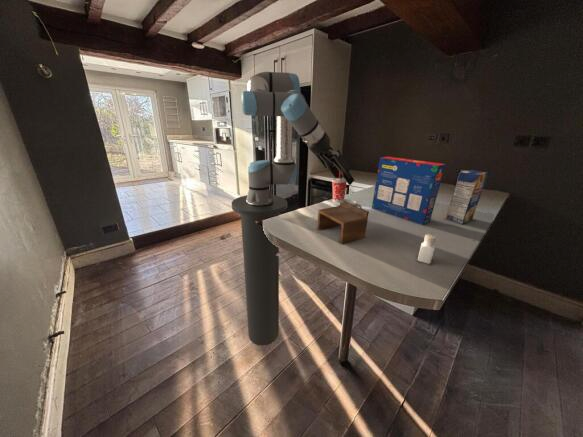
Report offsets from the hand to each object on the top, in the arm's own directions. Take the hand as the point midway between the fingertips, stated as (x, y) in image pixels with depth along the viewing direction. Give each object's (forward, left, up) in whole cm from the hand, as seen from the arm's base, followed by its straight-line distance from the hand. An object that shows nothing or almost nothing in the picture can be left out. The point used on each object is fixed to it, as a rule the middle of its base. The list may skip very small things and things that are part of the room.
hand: (345, 180), depth 93 cm
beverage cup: (0, -3, -8) cm, 9 cm away
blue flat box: (0, +42, -23) cm, 47 cm away
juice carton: (+19, +64, -23) cm, 70 cm away
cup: (-10, +16, -23) cm, 29 cm away
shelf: (+2, -1, -22) cm, 23 cm away
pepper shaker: (+33, +10, -23) cm, 41 cm away
